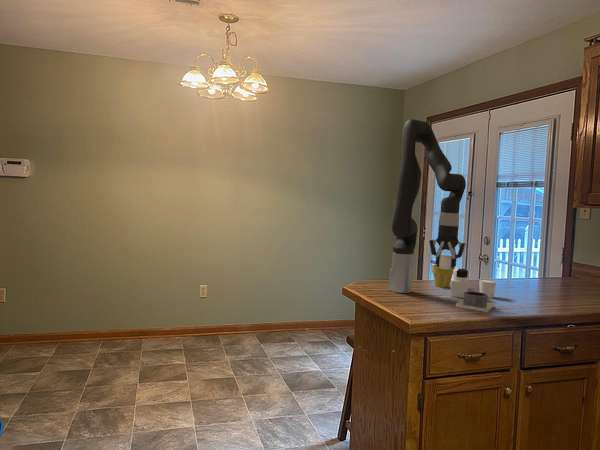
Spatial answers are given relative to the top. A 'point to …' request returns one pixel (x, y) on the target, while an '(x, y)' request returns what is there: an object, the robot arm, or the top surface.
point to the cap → (445, 262)
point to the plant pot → (442, 276)
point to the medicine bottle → (459, 283)
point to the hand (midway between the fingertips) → (445, 266)
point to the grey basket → (475, 301)
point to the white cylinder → (487, 287)
